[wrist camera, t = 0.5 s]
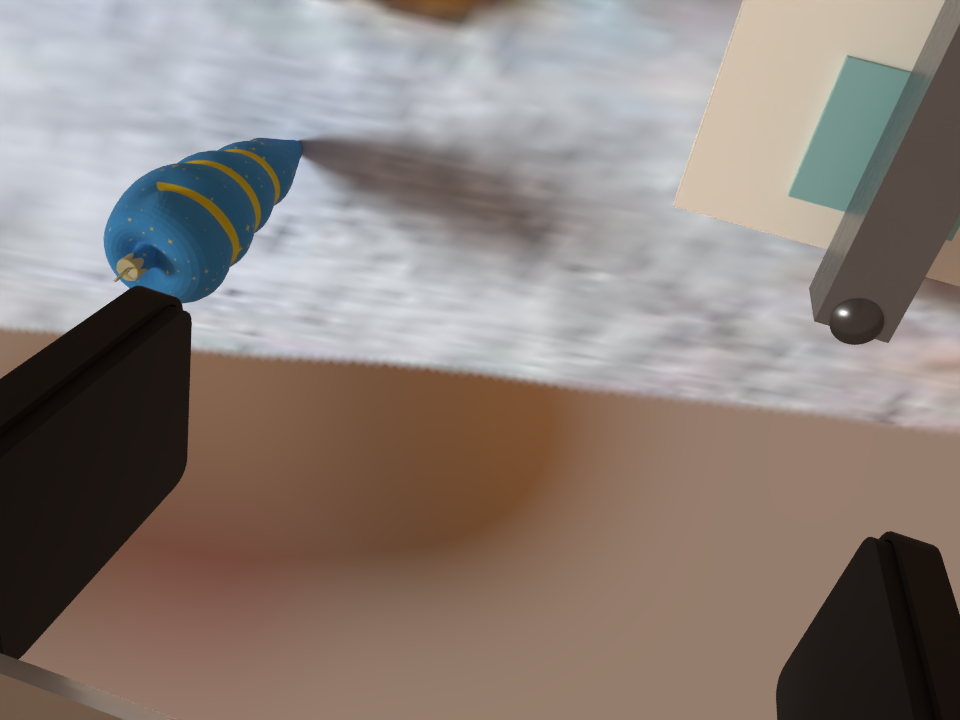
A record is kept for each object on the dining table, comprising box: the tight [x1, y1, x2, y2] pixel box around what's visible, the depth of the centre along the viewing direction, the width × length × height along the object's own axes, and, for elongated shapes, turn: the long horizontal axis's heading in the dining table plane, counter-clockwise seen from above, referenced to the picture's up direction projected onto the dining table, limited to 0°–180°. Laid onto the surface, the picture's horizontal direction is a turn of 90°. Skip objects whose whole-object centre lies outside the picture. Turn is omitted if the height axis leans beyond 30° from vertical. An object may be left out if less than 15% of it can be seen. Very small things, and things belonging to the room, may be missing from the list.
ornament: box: [104, 138, 302, 303], centre depth 37 cm, size 5×5×15 cm
